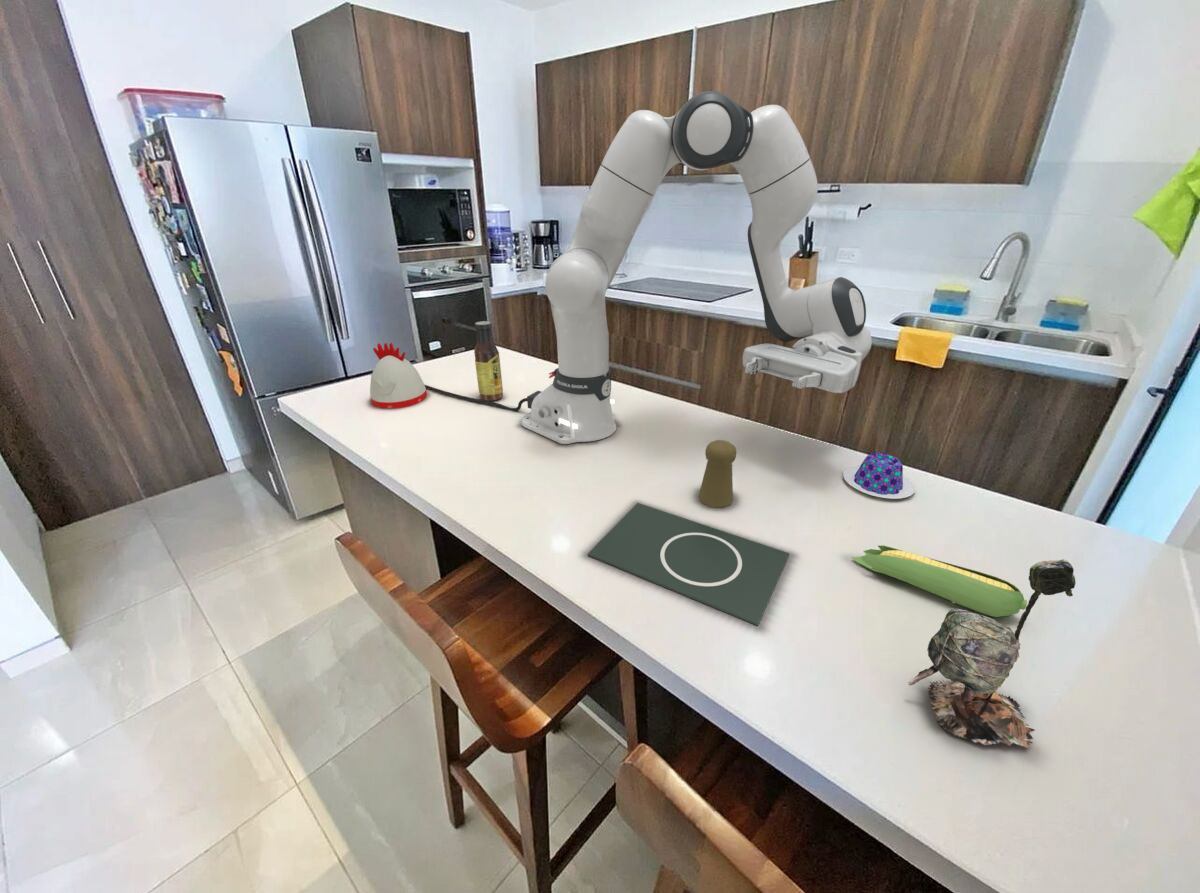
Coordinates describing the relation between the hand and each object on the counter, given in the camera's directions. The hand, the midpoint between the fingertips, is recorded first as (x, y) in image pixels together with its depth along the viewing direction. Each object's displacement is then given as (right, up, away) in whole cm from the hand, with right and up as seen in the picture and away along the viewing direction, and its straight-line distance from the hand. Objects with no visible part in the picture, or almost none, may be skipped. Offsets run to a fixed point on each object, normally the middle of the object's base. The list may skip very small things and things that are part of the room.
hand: (771, 376), depth 86 cm
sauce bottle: (-59, +1, +46) cm, 75 cm away
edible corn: (+16, -32, -17) cm, 40 cm away
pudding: (+22, -19, +6) cm, 30 cm away
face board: (-16, -29, -11) cm, 35 cm away
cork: (-9, -22, +3) cm, 24 cm away
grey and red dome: (-83, +1, +47) cm, 95 cm away
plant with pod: (+9, -41, -33) cm, 53 cm away
